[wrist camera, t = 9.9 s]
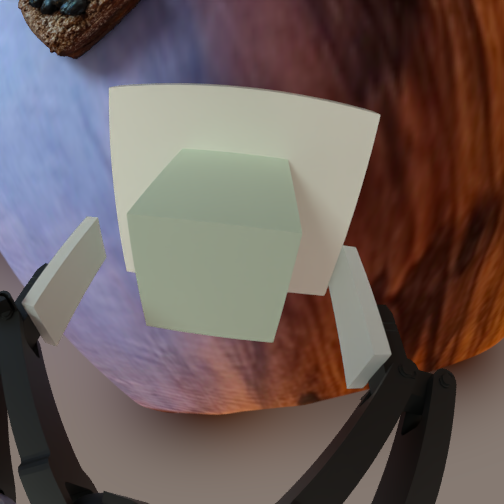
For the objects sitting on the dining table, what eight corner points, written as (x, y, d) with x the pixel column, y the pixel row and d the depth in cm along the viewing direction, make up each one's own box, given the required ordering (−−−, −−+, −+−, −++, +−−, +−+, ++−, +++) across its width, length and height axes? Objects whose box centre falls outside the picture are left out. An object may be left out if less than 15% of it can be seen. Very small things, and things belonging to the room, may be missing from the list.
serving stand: (135, 82, 19) (109, 87, 15) (360, 105, 19) (380, 114, 16) (142, 243, 28) (126, 271, 25) (318, 264, 29) (324, 295, 25)
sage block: (182, 148, 18) (126, 213, 11) (288, 159, 18) (302, 233, 11) (182, 235, 22) (146, 325, 15) (272, 246, 22) (273, 342, 15)
